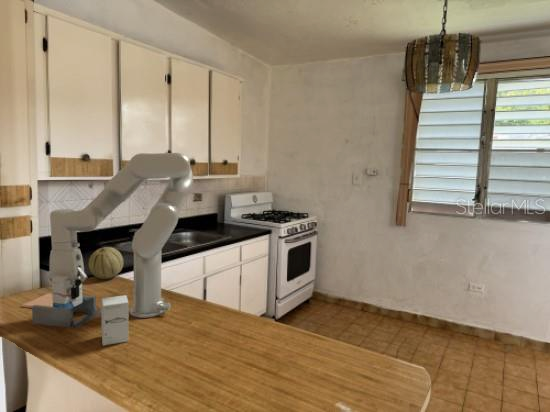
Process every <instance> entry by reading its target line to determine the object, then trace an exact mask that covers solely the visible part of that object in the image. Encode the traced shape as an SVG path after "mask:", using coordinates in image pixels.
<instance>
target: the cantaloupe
mask: <svg viewBox="0 0 550 412" xmlns="http://www.w3.org/2000/svg"><path fill="white" fill-rule="evenodd" d="M123 267H124V258H123V255H122V254H121V252H120V251H119V250H118V249H116V248H115V247H111V246H104V247H100V248H98V249H96V250H95V251H94V252H93V253H92V254H91V255H90V257H89V259H88V268H89V271H90V273H91V274H92V275H93V276H94V277H96V278H98V279H101V280H106V279H112V278H113V277H116V276H118V274H119V273H121V272H122V269H123Z"/></svg>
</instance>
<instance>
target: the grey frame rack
mask: <svg viewBox="0 0 550 412" xmlns="http://www.w3.org/2000/svg"><path fill="white" fill-rule="evenodd" d="M96 299H97V297H96V296H93V295H86V294H85V295H83V294H82V303H81V304H79V305H77V306H75V307H73V308H71V309H69V308H60V307H51V306H42V305H33V306H32V308H31V310H32V311H31V313H32V315H31V316H32V324H34V325H42V326H43V325H44V326H50V327H51V326H52V327H59V328H68V329H69V328H70V329H78V328H79V327H81V326H82V325H84V324H85V323H87V322H88V321H90V320H91V319H94V318H96V316H99V315H101V308H97V300H96ZM74 313H83V314H86V315H84V316H83V317H81V318H80V319H78V320H76V321H74Z"/></svg>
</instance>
